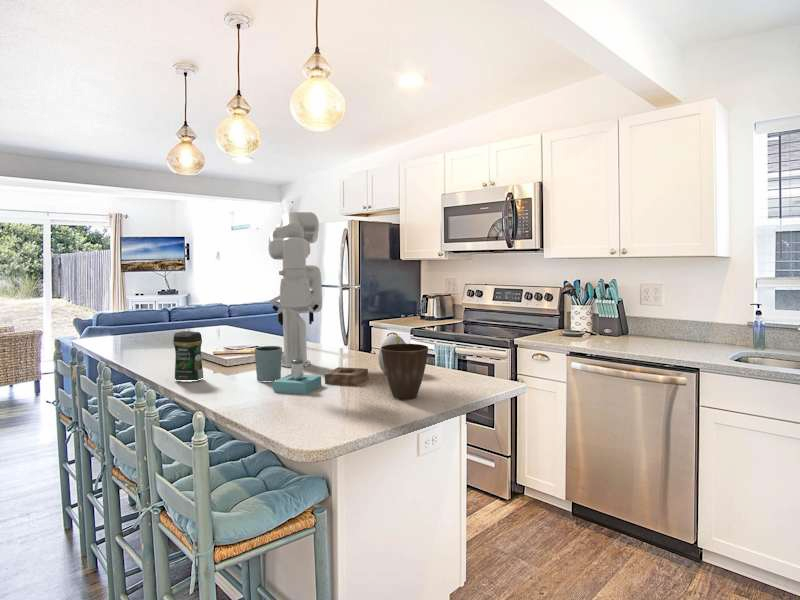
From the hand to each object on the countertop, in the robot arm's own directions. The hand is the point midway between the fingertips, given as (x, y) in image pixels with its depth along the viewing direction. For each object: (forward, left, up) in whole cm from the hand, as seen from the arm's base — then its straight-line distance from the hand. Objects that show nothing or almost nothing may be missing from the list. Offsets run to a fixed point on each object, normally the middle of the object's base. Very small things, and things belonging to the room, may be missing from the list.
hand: (296, 324), depth 172 cm
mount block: (+12, +15, -22) cm, 29 cm away
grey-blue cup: (-17, +10, -23) cm, 30 cm away
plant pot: (+39, -2, -23) cm, 45 cm away
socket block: (0, 0, -22) cm, 22 cm away
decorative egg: (+25, +32, -23) cm, 46 cm away
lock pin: (0, 0, -22) cm, 22 cm away
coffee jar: (-46, +2, -23) cm, 51 cm away
